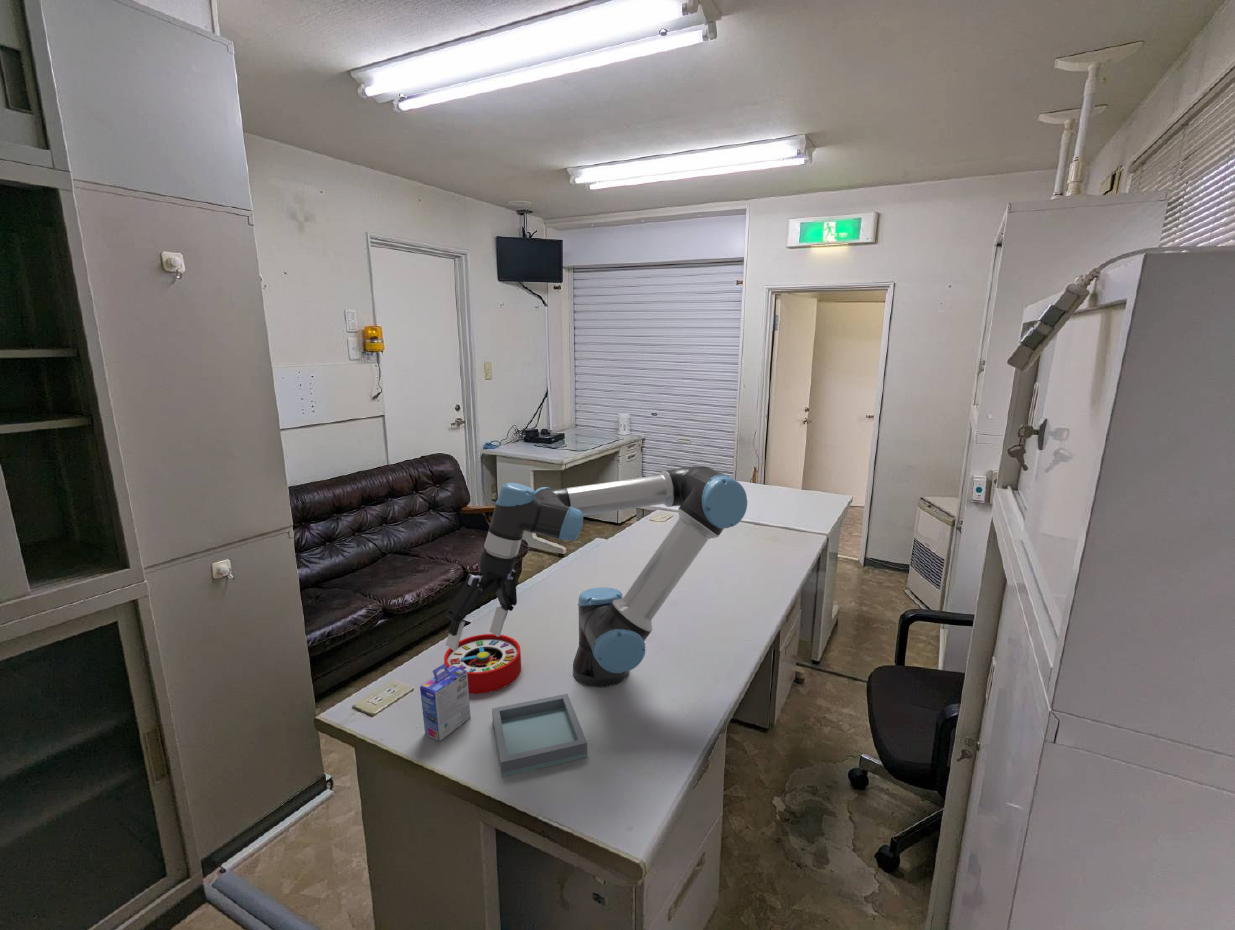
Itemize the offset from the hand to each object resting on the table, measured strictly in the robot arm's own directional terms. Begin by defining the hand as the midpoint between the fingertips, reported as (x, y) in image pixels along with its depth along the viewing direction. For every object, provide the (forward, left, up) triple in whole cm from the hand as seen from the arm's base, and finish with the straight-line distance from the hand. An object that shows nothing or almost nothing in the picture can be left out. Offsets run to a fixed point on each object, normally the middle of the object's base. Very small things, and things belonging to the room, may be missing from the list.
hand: (473, 640), depth 122 cm
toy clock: (-3, -22, -22) cm, 31 cm away
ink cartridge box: (+7, -2, -22) cm, 23 cm away
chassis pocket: (-12, +9, -21) cm, 26 cm away
